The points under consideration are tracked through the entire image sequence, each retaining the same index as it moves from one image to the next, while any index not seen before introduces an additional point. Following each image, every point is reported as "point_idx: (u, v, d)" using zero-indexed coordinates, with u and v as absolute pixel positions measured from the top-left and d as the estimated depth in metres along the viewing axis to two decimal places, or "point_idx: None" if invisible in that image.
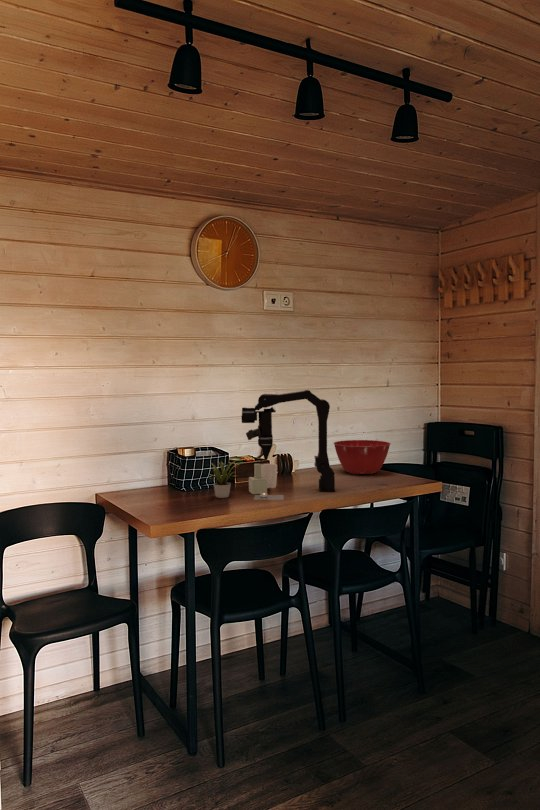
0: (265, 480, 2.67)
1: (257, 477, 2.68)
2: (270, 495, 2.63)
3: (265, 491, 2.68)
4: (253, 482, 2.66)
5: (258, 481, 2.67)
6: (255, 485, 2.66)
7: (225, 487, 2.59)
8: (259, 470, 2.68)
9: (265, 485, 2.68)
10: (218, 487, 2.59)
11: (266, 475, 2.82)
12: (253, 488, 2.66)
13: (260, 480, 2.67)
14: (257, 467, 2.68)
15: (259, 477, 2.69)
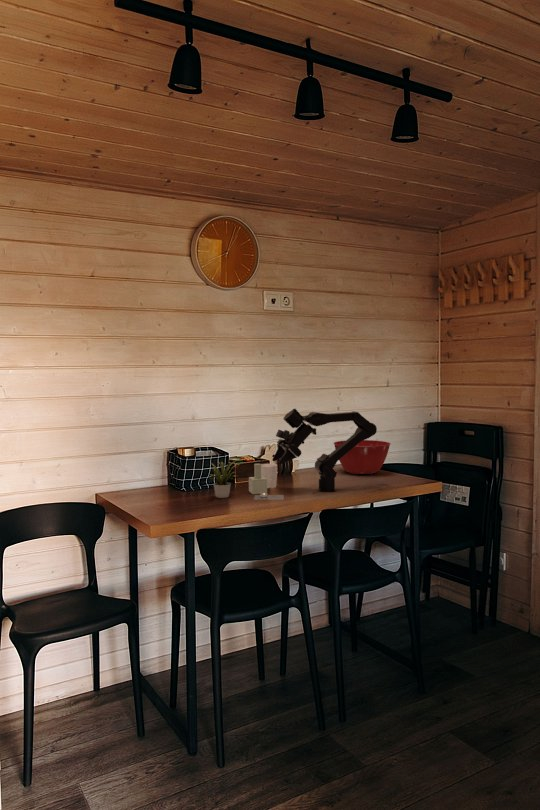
0: (265, 480, 2.67)
1: (257, 477, 2.68)
2: (270, 495, 2.63)
3: (265, 491, 2.68)
4: (253, 482, 2.66)
5: (258, 481, 2.67)
6: (255, 485, 2.66)
7: (225, 487, 2.59)
8: (259, 470, 2.68)
9: (265, 485, 2.68)
10: (218, 487, 2.59)
11: (266, 475, 2.82)
12: (253, 488, 2.66)
13: (260, 480, 2.67)
14: (257, 467, 2.68)
15: (259, 477, 2.69)
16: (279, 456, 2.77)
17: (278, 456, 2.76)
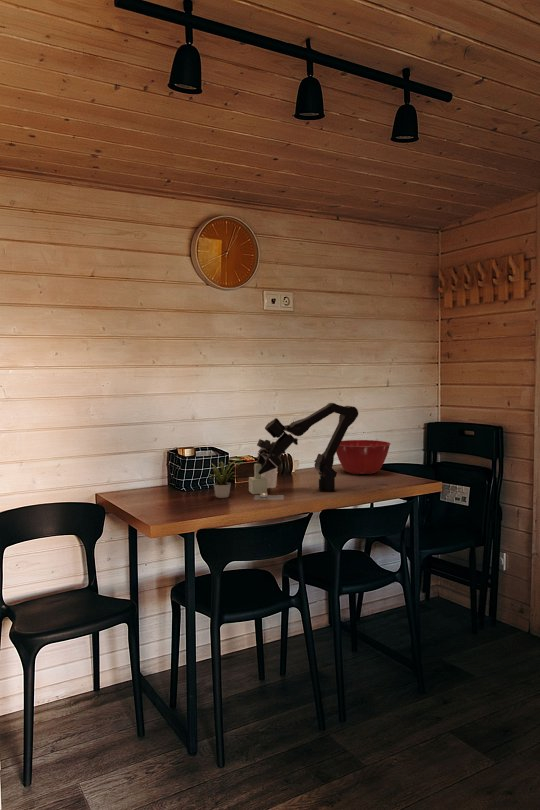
0: (265, 480, 2.67)
1: (257, 477, 2.68)
2: (270, 495, 2.63)
3: (265, 491, 2.68)
4: (253, 482, 2.66)
5: (258, 481, 2.67)
6: (255, 485, 2.66)
7: (225, 487, 2.59)
8: (259, 470, 2.68)
9: (265, 485, 2.68)
10: (218, 487, 2.59)
11: (266, 475, 2.82)
12: (253, 488, 2.66)
13: (260, 480, 2.67)
14: (257, 467, 2.68)
15: (259, 477, 2.69)
16: None
17: None
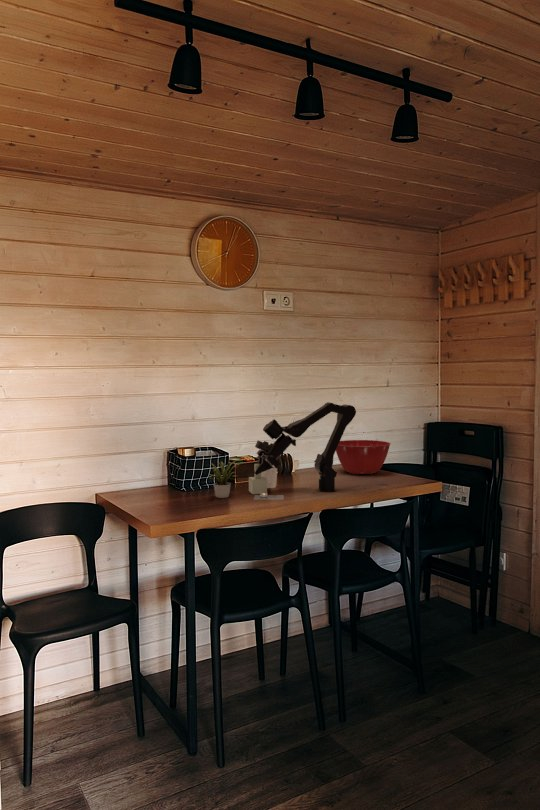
0: (265, 480, 2.67)
1: (257, 477, 2.68)
2: (270, 495, 2.63)
3: (265, 491, 2.68)
4: (253, 482, 2.66)
5: (258, 481, 2.67)
6: (255, 485, 2.66)
7: (225, 487, 2.59)
8: None
9: (265, 485, 2.68)
10: (218, 487, 2.59)
11: (266, 475, 2.82)
12: (253, 488, 2.66)
13: (260, 480, 2.67)
14: (257, 467, 2.68)
15: (259, 477, 2.69)
16: None
17: None
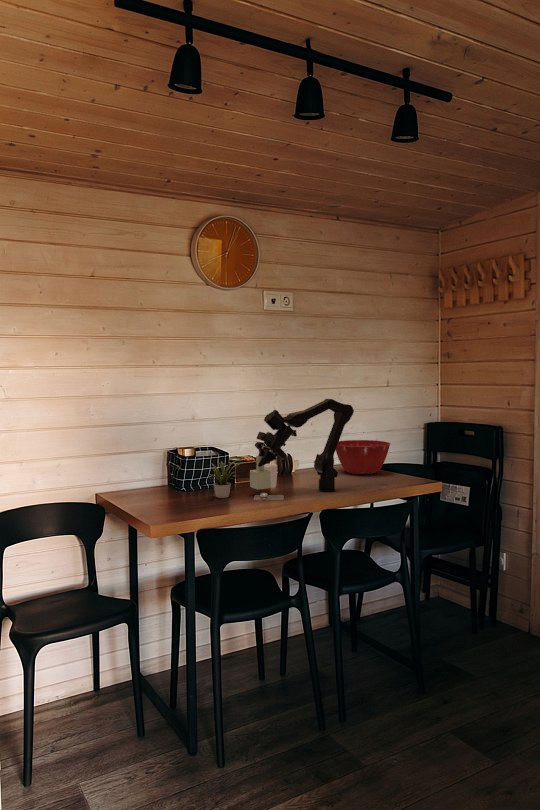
0: (269, 472, 2.61)
1: (260, 470, 2.61)
2: (270, 495, 2.63)
3: (269, 483, 2.61)
4: (257, 475, 2.59)
5: (262, 474, 2.60)
6: (259, 478, 2.59)
7: (225, 487, 2.59)
8: None
9: (269, 477, 2.61)
10: (218, 487, 2.59)
11: None
12: (257, 481, 2.59)
13: (264, 472, 2.60)
14: (260, 459, 2.61)
15: (262, 469, 2.62)
16: None
17: None
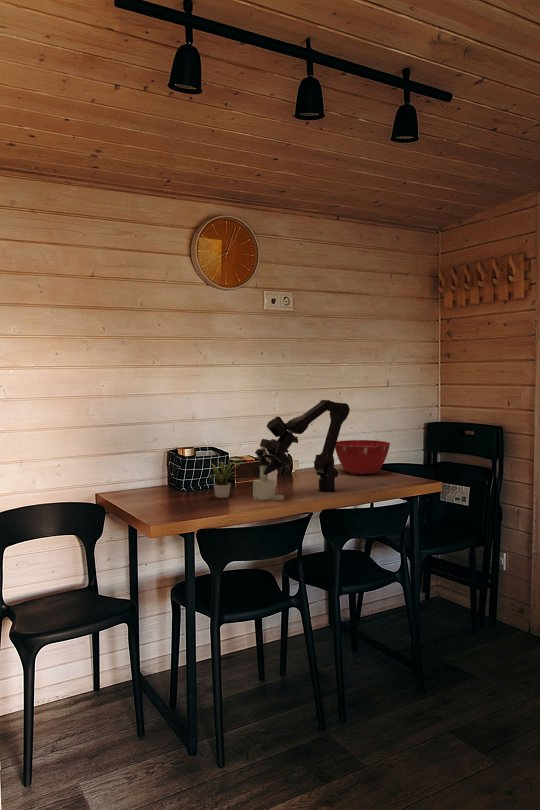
0: (273, 482, 2.58)
1: (264, 479, 2.57)
2: None
3: (273, 493, 2.58)
4: (262, 485, 2.55)
5: (267, 484, 2.56)
6: (264, 488, 2.55)
7: (225, 487, 2.59)
8: None
9: (273, 487, 2.58)
10: (218, 487, 2.59)
11: None
12: (262, 491, 2.55)
13: (269, 482, 2.56)
14: (264, 469, 2.57)
15: (266, 479, 2.58)
16: None
17: None
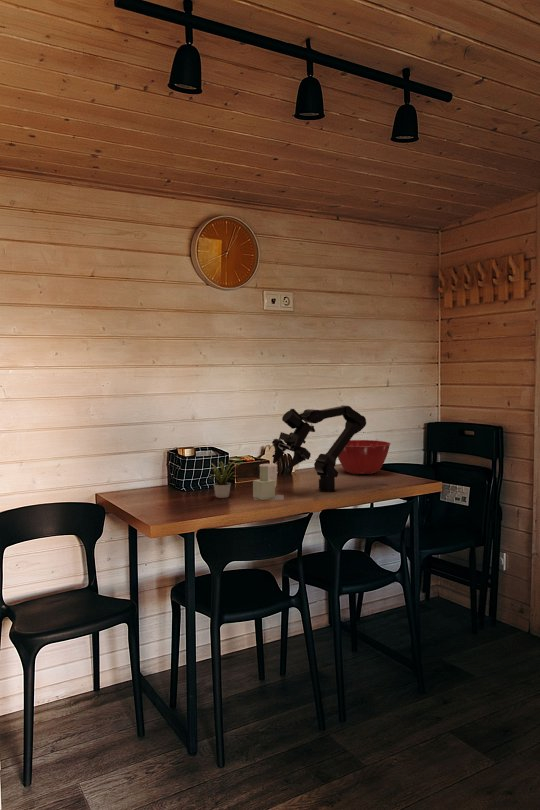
0: (273, 482, 2.58)
1: (264, 479, 2.57)
2: None
3: (273, 493, 2.58)
4: (262, 485, 2.55)
5: (267, 484, 2.56)
6: (264, 488, 2.55)
7: (225, 487, 2.59)
8: (266, 472, 2.58)
9: (273, 487, 2.58)
10: (218, 487, 2.59)
11: None
12: (262, 491, 2.55)
13: (269, 482, 2.56)
14: (264, 469, 2.57)
15: (266, 479, 2.58)
16: (278, 457, 2.70)
17: (277, 457, 2.69)
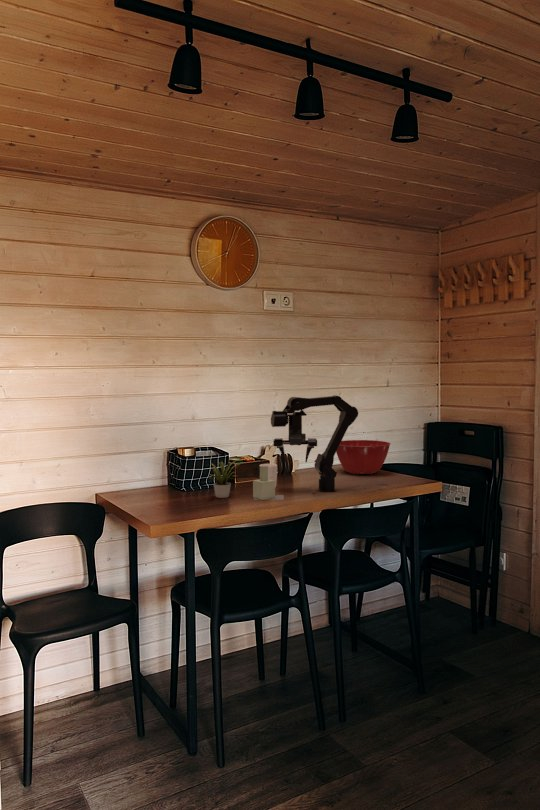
0: (273, 482, 2.58)
1: (264, 479, 2.57)
2: None
3: (273, 493, 2.58)
4: (262, 485, 2.55)
5: (267, 484, 2.56)
6: (264, 488, 2.55)
7: (225, 487, 2.59)
8: (266, 472, 2.58)
9: (273, 487, 2.58)
10: (218, 487, 2.59)
11: None
12: (262, 491, 2.55)
13: (269, 482, 2.56)
14: (264, 469, 2.57)
15: (266, 479, 2.58)
16: (284, 454, 2.75)
17: (284, 455, 2.74)
